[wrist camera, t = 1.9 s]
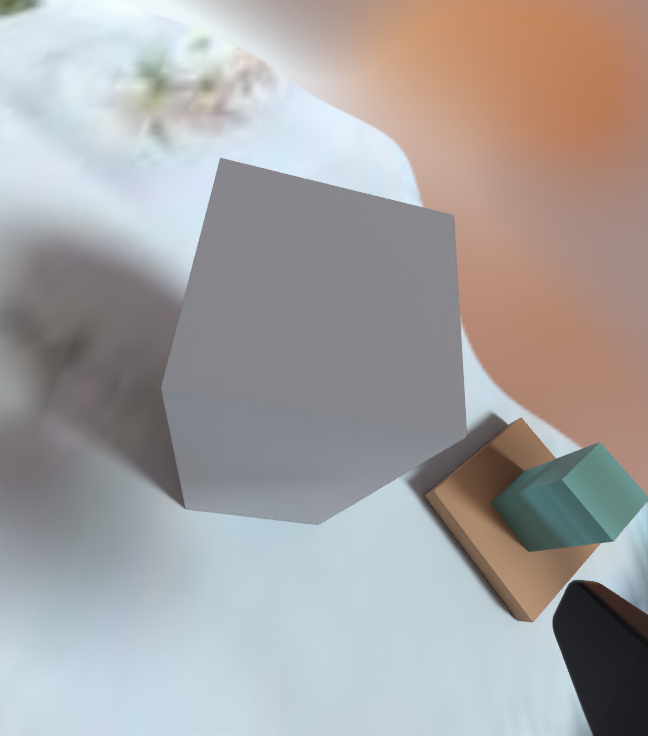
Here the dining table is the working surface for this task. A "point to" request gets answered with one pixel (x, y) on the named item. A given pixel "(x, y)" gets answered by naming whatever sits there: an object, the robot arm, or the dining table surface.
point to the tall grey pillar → (312, 347)
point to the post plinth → (494, 536)
